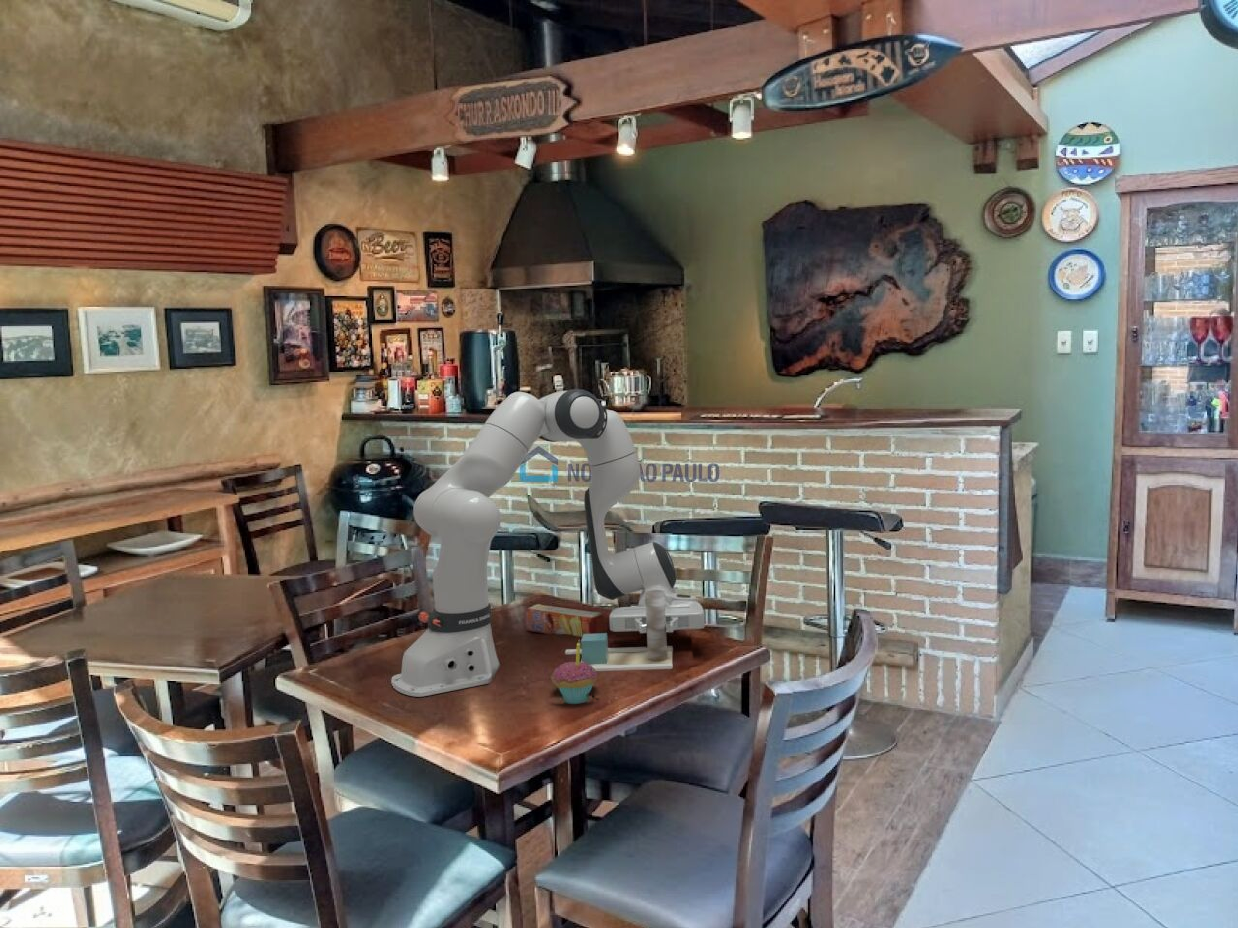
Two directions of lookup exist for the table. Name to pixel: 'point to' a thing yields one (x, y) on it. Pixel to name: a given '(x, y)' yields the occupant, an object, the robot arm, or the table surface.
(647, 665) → the lane
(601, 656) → the cube
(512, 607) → the table surface
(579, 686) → the cupcake
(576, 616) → the snack package
